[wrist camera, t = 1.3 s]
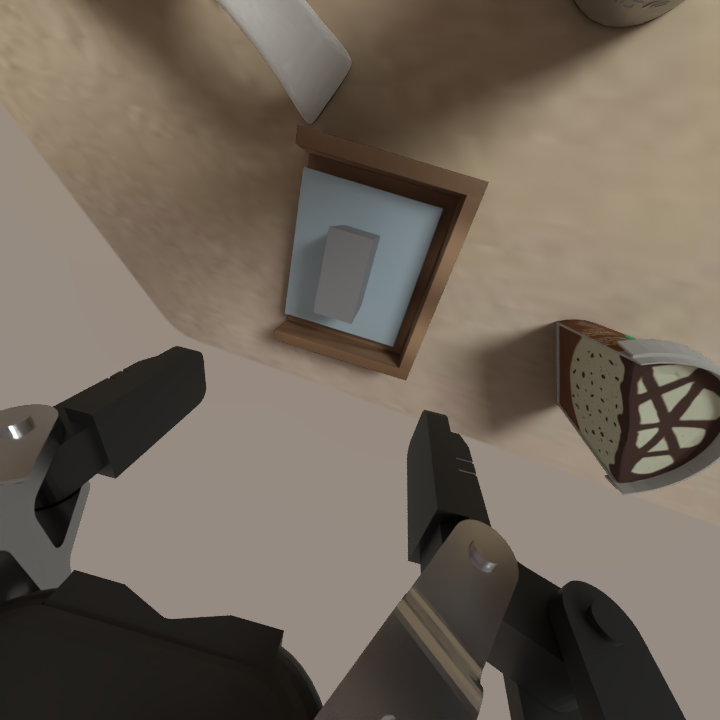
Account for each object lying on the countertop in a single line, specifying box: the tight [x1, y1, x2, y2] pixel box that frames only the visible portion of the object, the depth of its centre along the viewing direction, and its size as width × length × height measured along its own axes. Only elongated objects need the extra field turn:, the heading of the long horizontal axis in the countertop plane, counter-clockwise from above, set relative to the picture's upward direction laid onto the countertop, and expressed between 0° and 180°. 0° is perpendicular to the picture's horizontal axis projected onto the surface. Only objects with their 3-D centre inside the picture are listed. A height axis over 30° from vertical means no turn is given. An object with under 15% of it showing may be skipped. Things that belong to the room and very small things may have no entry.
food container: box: [556, 320, 720, 495], centre depth 21 cm, size 12×6×10 cm, turn 18°
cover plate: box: [285, 167, 443, 347], centre depth 21 cm, size 12×11×6 cm
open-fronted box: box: [274, 125, 489, 380], centre depth 23 cm, size 16×13×4 cm
